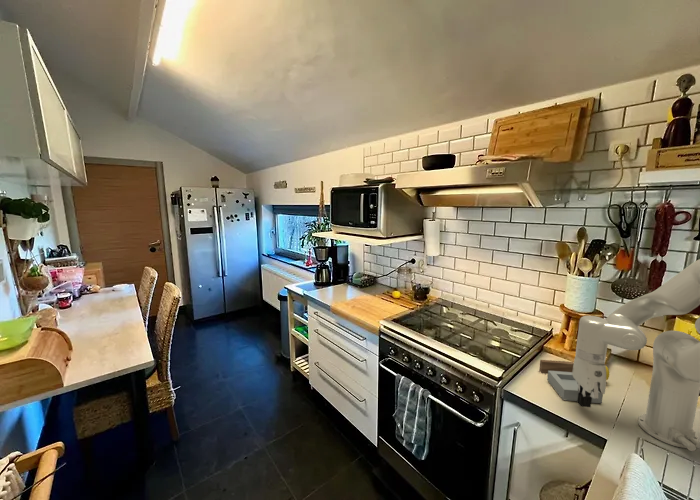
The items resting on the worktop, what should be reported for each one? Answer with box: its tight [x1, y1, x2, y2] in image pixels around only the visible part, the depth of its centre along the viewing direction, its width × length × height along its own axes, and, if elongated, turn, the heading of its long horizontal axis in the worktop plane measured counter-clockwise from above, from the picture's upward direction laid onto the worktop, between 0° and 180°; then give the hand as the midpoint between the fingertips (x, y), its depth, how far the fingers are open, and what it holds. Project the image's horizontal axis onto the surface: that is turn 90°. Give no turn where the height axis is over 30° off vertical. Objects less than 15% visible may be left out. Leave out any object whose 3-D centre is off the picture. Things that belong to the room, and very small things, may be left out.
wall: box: [538, 359, 574, 374], centre depth 120 cm, size 2×12×5 cm, turn 80°
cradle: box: [546, 371, 604, 404], centre depth 108 cm, size 12×12×4 cm
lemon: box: [605, 364, 610, 381], centre depth 113 cm, size 6×6×8 cm
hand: (583, 405), depth 98 cm, fingers closed
